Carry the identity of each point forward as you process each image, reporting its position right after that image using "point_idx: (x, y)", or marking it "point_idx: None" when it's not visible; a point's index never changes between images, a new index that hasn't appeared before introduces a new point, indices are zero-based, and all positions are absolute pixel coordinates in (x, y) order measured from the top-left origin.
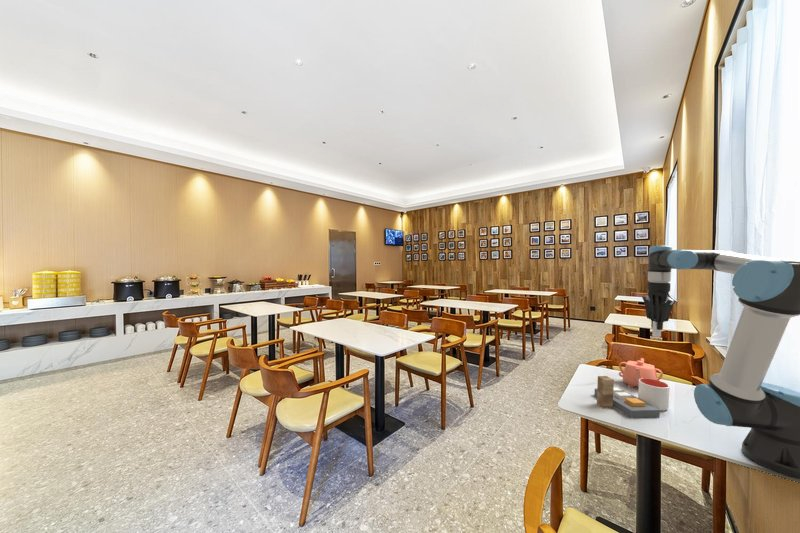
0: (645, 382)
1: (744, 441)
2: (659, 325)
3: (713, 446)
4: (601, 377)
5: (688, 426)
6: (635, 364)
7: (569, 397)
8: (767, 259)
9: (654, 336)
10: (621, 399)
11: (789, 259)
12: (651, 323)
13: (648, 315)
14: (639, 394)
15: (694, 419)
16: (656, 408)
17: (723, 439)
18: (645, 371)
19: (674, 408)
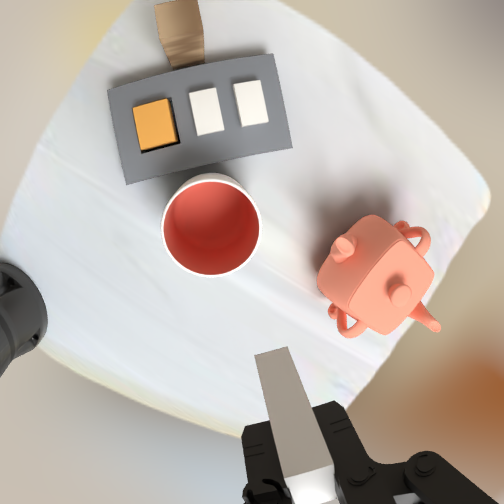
0: (256, 222)
1: (20, 287)
2: (251, 463)
3: (23, 225)
4: (181, 3)
5: (97, 232)
6: (398, 274)
7: None
8: None
9: (263, 354)
10: (187, 98)
11: None
12: (355, 434)
13: (430, 487)
14: (217, 174)
15: (143, 277)
16: (134, 180)
17: (57, 272)
18: (350, 281)
19: None
